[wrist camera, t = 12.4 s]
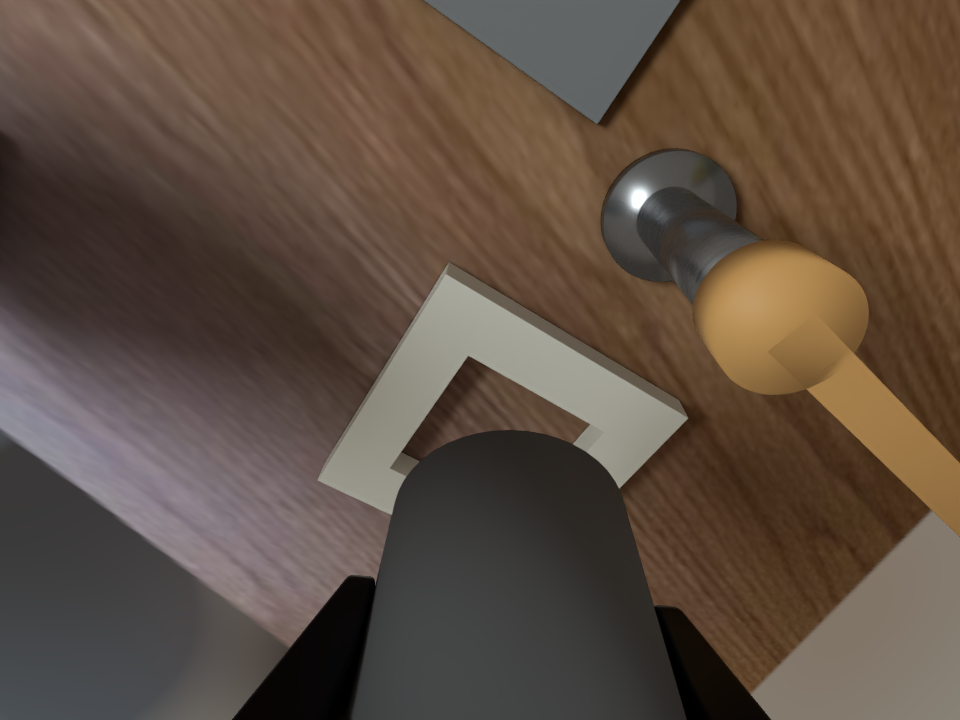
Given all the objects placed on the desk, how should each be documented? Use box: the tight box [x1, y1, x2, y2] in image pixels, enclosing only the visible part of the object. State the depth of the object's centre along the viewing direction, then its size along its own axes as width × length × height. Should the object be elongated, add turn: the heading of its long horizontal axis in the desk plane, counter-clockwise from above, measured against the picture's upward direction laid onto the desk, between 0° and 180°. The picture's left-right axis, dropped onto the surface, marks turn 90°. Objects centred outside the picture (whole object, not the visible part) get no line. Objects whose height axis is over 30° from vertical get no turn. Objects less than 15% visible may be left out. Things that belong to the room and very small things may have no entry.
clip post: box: [601, 148, 764, 305], centre depth 14 cm, size 4×4×7 cm
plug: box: [345, 430, 687, 720], centre depth 8 cm, size 4×4×6 cm
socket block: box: [318, 262, 688, 515], centre depth 21 cm, size 10×10×1 cm
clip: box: [693, 240, 960, 537], centre depth 12 cm, size 3×14×1 cm, turn 49°
